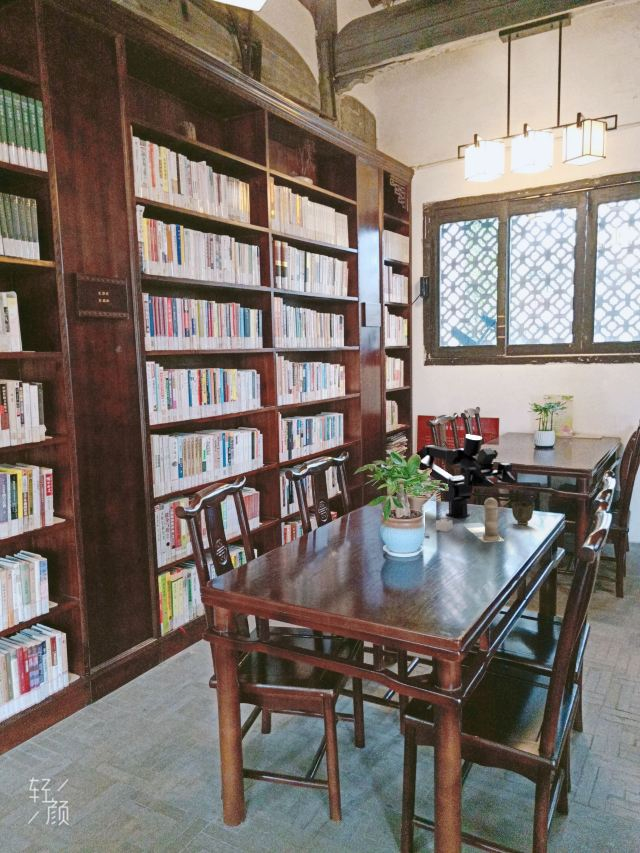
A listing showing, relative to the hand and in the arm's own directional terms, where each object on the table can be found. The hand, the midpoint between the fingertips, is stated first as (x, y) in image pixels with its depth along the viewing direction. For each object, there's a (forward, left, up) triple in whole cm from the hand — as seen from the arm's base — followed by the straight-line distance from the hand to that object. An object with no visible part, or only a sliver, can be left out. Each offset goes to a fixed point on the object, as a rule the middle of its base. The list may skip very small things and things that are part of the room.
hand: (504, 483), depth 204 cm
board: (-3, -8, -17) cm, 19 cm away
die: (-13, -15, -17) cm, 26 cm away
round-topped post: (+5, -12, -16) cm, 20 cm away
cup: (-1, +11, -17) cm, 20 cm away
